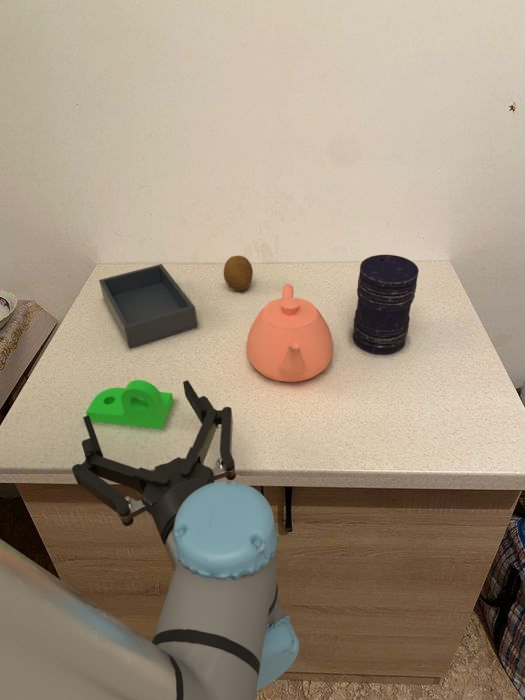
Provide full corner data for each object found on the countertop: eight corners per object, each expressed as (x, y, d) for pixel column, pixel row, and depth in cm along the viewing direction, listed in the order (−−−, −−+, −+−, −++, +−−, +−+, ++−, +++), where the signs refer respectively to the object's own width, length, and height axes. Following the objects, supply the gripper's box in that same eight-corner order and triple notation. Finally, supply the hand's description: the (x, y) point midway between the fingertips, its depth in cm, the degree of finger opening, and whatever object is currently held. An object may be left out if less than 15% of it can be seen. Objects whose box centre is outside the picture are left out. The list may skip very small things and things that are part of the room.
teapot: (340, 406, 80) (346, 345, 73) (246, 408, 80) (242, 348, 73) (325, 325, 97) (329, 269, 90) (247, 327, 98) (244, 272, 90)
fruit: (221, 295, 107) (218, 262, 102) (229, 280, 112) (226, 248, 107) (249, 298, 106) (248, 264, 101) (256, 283, 111) (255, 250, 106)
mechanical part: (173, 402, 82) (166, 364, 77) (161, 429, 77) (153, 391, 72) (104, 394, 84) (93, 357, 79) (88, 421, 79) (75, 383, 74)
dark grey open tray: (129, 348, 93) (124, 327, 90) (104, 299, 107) (98, 279, 104) (197, 327, 98) (195, 307, 95) (164, 282, 112) (161, 263, 109)
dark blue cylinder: (415, 350, 91) (430, 278, 81) (364, 359, 89) (373, 287, 80) (391, 320, 98) (403, 251, 89) (344, 327, 97) (350, 258, 88)
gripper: (87, 603, 51) (52, 458, 66) (299, 501, 59) (225, 394, 74) (66, 565, 46) (34, 418, 61) (300, 460, 55) (221, 354, 70)
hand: (139, 404), depth 68 cm, fingers open, 13 cm apart
